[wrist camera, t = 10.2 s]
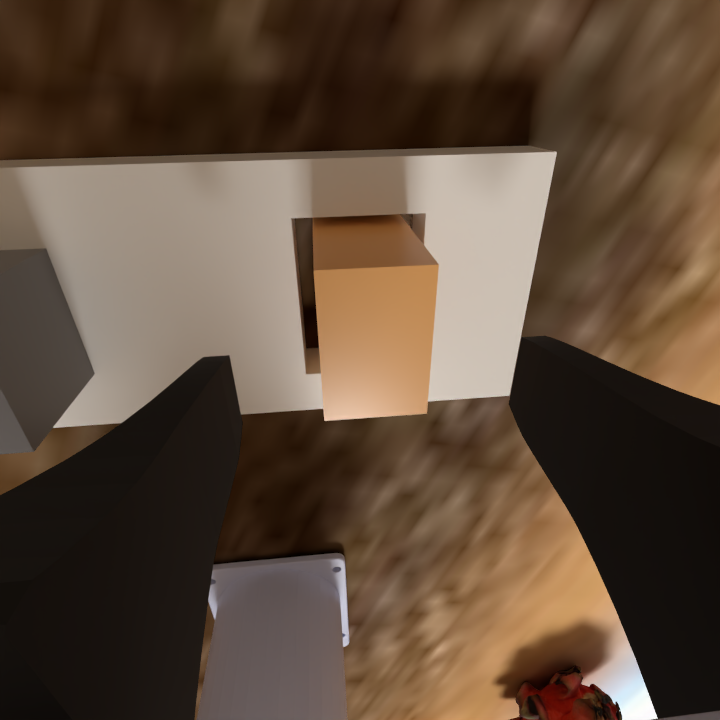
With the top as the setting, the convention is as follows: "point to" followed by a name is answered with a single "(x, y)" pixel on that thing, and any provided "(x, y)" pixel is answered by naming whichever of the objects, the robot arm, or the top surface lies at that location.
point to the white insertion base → (241, 272)
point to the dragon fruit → (566, 700)
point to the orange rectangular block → (373, 316)
